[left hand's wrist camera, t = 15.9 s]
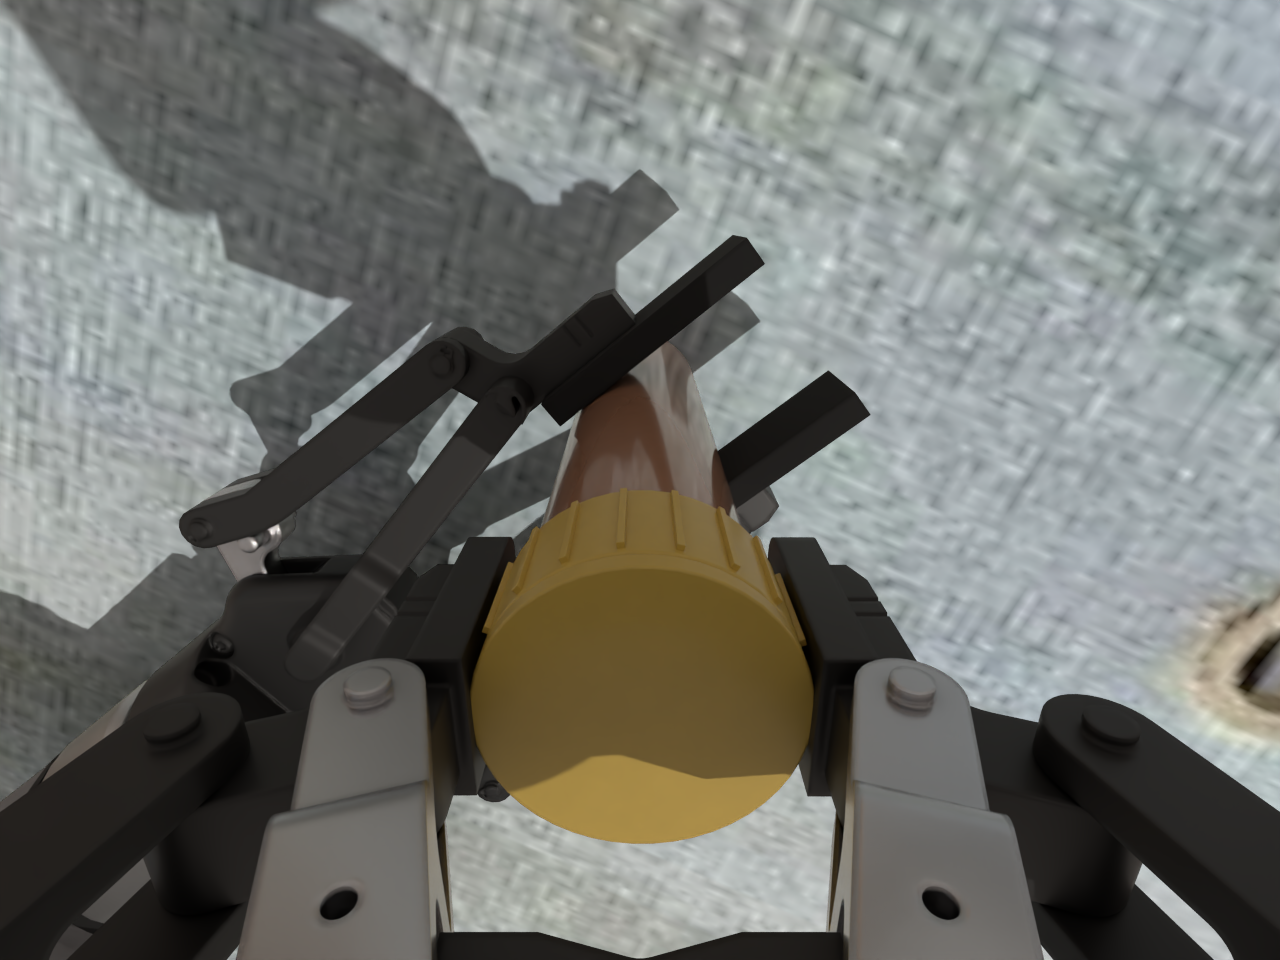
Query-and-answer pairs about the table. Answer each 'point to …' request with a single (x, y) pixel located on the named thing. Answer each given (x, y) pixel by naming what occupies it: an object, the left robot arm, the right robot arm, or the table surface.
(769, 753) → the lid
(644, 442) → the jar
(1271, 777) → the table surface
